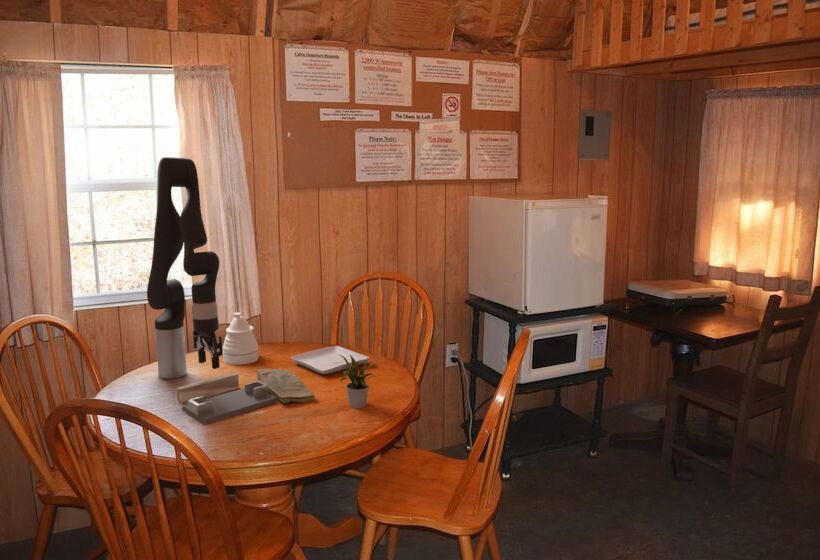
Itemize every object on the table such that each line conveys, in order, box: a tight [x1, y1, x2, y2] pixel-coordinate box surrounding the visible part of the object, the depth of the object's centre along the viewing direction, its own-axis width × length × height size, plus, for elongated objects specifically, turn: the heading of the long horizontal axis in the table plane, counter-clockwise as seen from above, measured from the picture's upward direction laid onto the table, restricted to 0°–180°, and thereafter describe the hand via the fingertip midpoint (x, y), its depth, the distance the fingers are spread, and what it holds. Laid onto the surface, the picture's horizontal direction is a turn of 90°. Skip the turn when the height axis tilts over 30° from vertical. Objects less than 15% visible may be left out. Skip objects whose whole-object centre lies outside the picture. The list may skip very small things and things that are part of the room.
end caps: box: [187, 379, 270, 415], centre depth 202 cm, size 6×24×3 cm, turn 134°
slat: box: [176, 371, 240, 405], centre depth 211 cm, size 2×20×5 cm, turn 136°
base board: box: [181, 387, 277, 425], centre depth 202 cm, size 14×24×2 cm, turn 134°
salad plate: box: [290, 345, 370, 375], centre depth 241 cm, size 21×21×3 cm
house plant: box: [333, 354, 379, 409], centre depth 202 cm, size 14×14×16 cm
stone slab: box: [256, 368, 315, 405], centre depth 217 cm, size 12×4×30 cm
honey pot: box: [222, 312, 260, 366], centre depth 245 cm, size 13×13×18 cm
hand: (209, 365), depth 210 cm, fingers open, 8 cm apart
